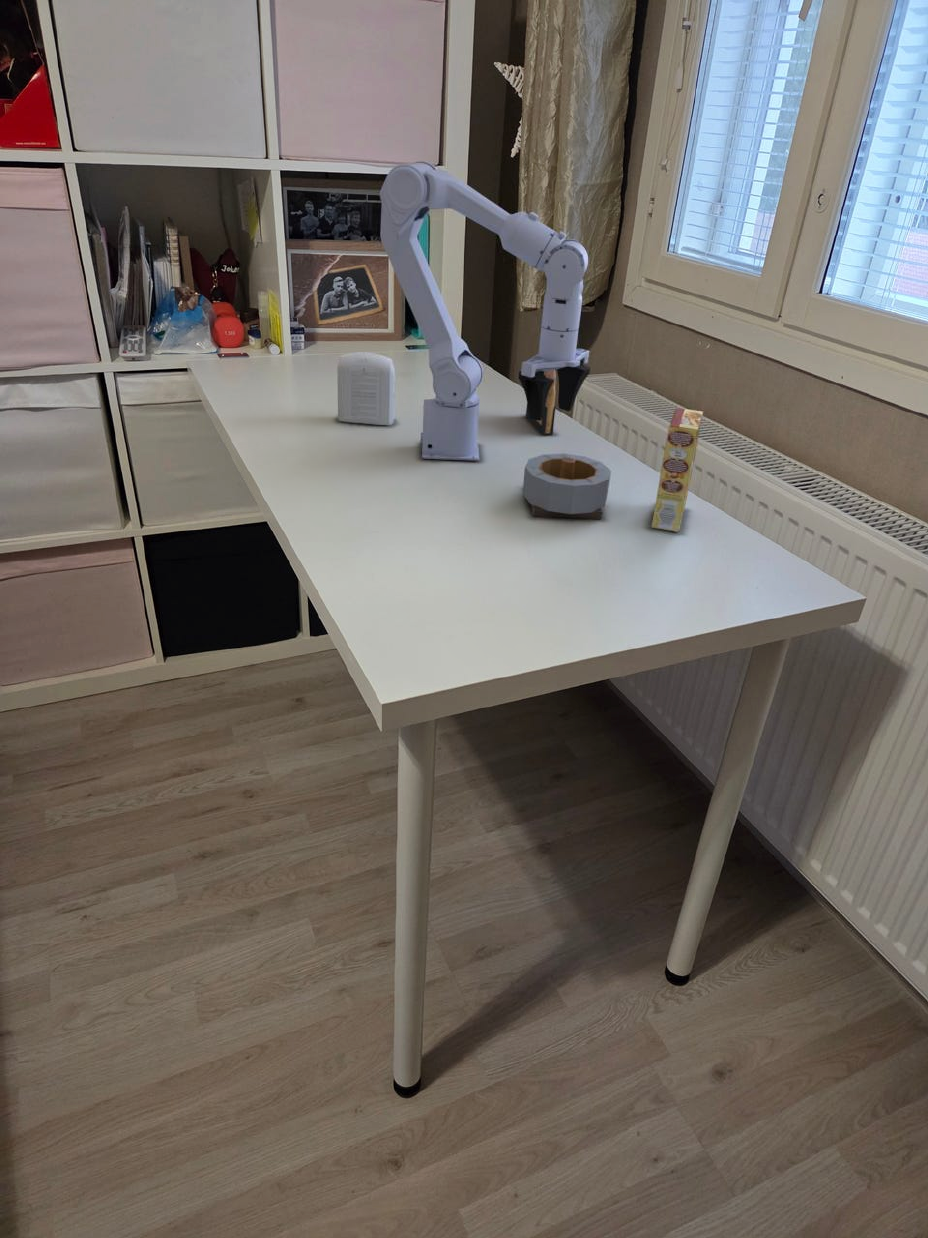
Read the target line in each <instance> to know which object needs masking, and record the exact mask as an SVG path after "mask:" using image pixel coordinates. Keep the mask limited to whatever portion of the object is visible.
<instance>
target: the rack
mask: <svg viewBox="0 0 928 1238" xmlns="http://www.w3.org/2000/svg"><path fill="white" fill-rule="evenodd" d="M574 467H575V460H574V459H572V458H563V459H562V461H561V469H560V478H564V479H571V480H573V475H574ZM530 508H531V513H532V516H533V517H535V518H559V519H560V518H561V519H562V518H564V519H587V520H602V517H603V510H602V508H600V509H598V510H596V511H594V512H591V513H578V514H566V513H559V512H553V511H547V510H545V509H542V508H540V507H537V506H535V505H532V504H530Z"/></svg>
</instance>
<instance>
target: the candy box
mask: <svg viewBox="0 0 928 1238" xmlns="http://www.w3.org/2000/svg"><path fill="white" fill-rule="evenodd" d="M703 415H704V411H700V410H696V409H695V410H694V409H686V408H680V407H676V408H675V409H674V412H673V415H672V418H671V420H670V424H669V426H668V430H667V434H666V435H667V436H666V441H665V447H664V452H663V457H662V458H663V459H662V463H661V469H660V475H659V482H658V488H657V492H656V493H657V494H656V499H655V505H654V511H653V517H652V522H651V528H652V529H658V530H663V531H670V532H675V533H678V532H679V531H680V528H681V526H682V521H683V516H684V512H685V509H686V504H687V499H688V494H689V489H690V484H691V480H692V475H693V469H694V465H695V460H696V453H697V450H698V449H697V448H698V443H699V438H700V431H701V425H702V420H703Z"/></svg>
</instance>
